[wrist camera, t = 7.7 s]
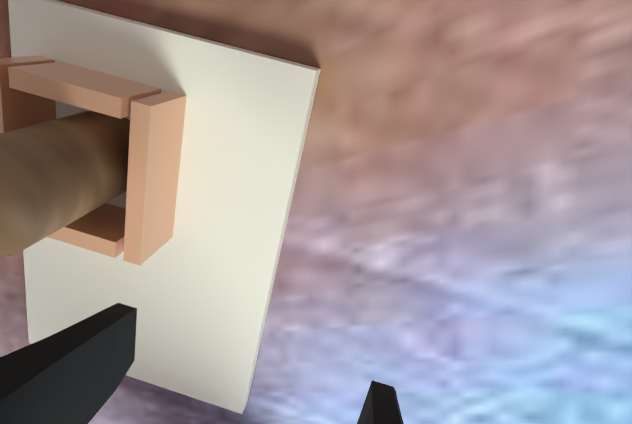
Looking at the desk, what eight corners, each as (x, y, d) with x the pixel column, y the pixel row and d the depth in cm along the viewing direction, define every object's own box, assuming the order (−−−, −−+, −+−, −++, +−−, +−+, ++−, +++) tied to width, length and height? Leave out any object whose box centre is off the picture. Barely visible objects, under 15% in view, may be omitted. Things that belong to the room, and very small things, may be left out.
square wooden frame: (172, 237, 22) (139, 265, 20) (43, 198, 23) (-6, 220, 20) (186, 95, 19) (150, 106, 17) (38, 55, 20) (-20, 59, 17)
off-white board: (247, 401, 27) (242, 414, 26) (41, 332, 28) (28, 342, 27) (320, 69, 19) (316, 70, 18) (25, -8, 20) (7, -10, 19)
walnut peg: (146, 199, 22) (38, 269, 16) (72, 178, 22) (-63, 237, 16) (151, 121, 20) (33, 163, 14) (71, 99, 21) (-79, 130, 14)
